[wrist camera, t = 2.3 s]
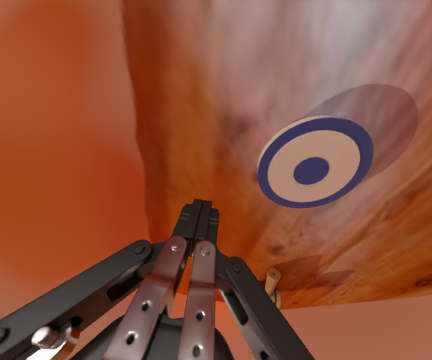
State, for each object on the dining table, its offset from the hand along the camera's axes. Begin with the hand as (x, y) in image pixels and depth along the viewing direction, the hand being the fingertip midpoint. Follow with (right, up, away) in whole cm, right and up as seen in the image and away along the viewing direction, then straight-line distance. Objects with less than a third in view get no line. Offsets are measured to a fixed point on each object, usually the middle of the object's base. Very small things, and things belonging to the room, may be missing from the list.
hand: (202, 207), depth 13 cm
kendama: (+15, -26, +31) cm, 43 cm away
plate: (+14, +4, +9) cm, 17 cm away
